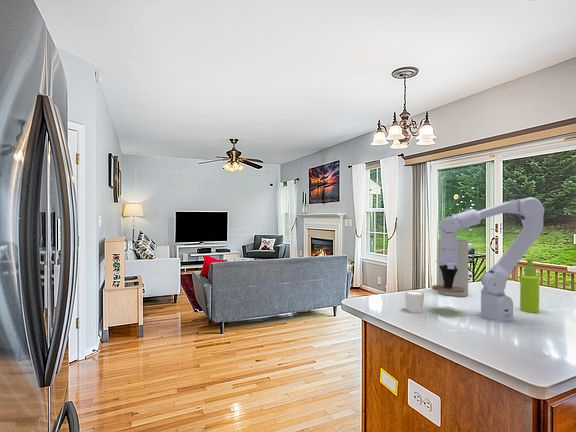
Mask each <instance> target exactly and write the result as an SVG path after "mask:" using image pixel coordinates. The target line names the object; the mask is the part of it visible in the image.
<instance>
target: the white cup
mask: <svg viewBox="0 0 576 432" xmlns="http://www.w3.org/2000/svg"><path fill="white" fill-rule="evenodd" d="M404 298H405V310H406V311H407V312H410V313H413V314H414V313H415V314H416V313H417V314H418V313H422V312H423V309H424V301H425V300H424V299H425V293H424V292H420V291H414V290H413V291H412V290H409V291H405V292H404Z"/></svg>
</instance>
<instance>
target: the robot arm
mask: <svg viewBox="0 0 576 432" xmlns="http://www.w3.org/2000/svg"><path fill="white" fill-rule="evenodd" d="M504 213H508V214H516V215H517V216H518V217H519V219H520V221H521V224H522V226H523V228H522V229H521V230H520V232H519V233H518V235H516V237H515V238H514V239H513V241H512V243H510V245H509V246H508V247H507V248H506V250H505V251H504V253H503V255H502V256H501V257H500V258H499V260H497V263H496V264H495V265H493V266H492V267H490V269H489V270H488V271H486V272H484V273H483V274H482V275H481V277H480V282H481V284H482V286H483V287H482V288H481V290H480V312H478V313H477V312H476V313H474V316H478V317H481V318H484V319H487V320H489V321H492V322H495V323H505V322H514V321H515V320H516V319H515V318H514V302H513V299H512V298H511V297H510V296H508V295H506V293H505V290H506V287H507V286H506V285H507V282H508V280H509V278H510V275H511V273H512V271H513V270H514V269H515V267H516V266H517V264H519V262H520V261H521V260H522V258H523V257H524V255H525V254H526V253H527V251H528V250H529V249H530V248H531V246H532V244H534V243H535V241H536V239H537V238H538V237H539V236H540V235H541V233H542V232H543V229H544V213H545V208H544V205H543V204H542V202H541V200H539V199H538V198H536V197H531V196H529V197H524V198H520V199H515V200H514V199H513V200H509V201H504V202H501V203H499V204H495V205H493V206H489V207H487V208H484V209H480V210H476V209H474V208H472V209H470V208H466V209H464V211H462V212H459V213H456V214H455V213H452V214H451V216H446V217H444V218H442V219H441V221H440V223H439V228H440V229H441V231H440V236H439V239H440V260H438V259H437V260H436V261H435V262H436V263H437V264H438V263H442V264H444V266H439V267H440V269H441V272H442V275H443V281H444V282H445V286H446V287H452V285H453V281H454V277H455V274H456V273H457V271H458V269H456V266H454V265H456V264H457V263H458V262H457V239H458V236H457V230H458V229H459V230H464V229H467V228H469V227H473V226H476V225H479V224H480V222H481V220H483V219H486V218H490V217H493V216H497V215H501V214H504Z"/></svg>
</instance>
